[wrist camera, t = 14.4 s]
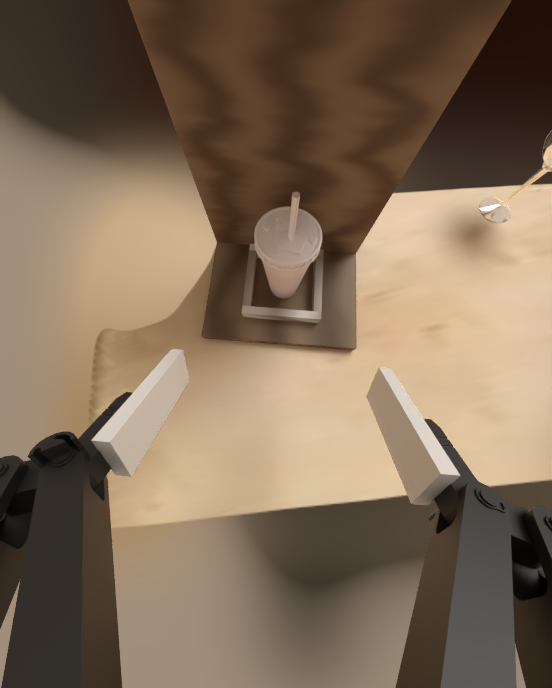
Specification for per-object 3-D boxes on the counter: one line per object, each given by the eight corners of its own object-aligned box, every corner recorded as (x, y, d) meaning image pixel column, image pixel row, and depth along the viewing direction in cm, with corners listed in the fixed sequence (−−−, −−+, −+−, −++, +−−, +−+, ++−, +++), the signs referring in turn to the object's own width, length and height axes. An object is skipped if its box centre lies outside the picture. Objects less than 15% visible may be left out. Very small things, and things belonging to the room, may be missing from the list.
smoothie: (271, 315, 27) (269, 240, 14) (252, 275, 29) (233, 169, 15) (314, 297, 28) (354, 208, 14) (294, 258, 29) (313, 143, 15)
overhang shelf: (352, 246, 31) (652, -284, 7) (353, 349, 28) (991, 37, 3) (220, 235, 31) (31, -340, 7) (204, 337, 27) (-332, -76, 3)
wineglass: (507, 191, 34) (631, 86, 22) (522, 225, 32) (664, 133, 21) (468, 194, 34) (573, 89, 22) (482, 229, 32) (602, 137, 20)
